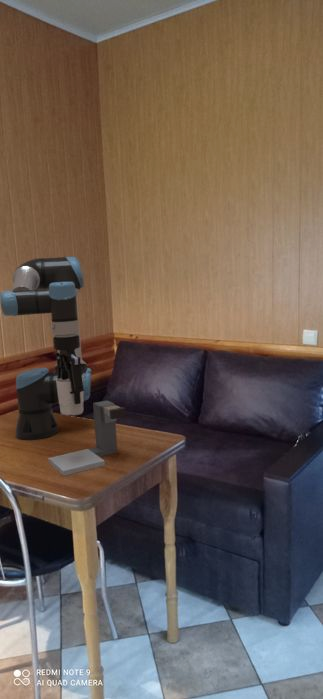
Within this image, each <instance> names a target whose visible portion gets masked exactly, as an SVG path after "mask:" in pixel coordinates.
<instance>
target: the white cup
mask: <svg viewBox="0 0 323 699" xmlns="http://www.w3.org/2000/svg"><path fill="white" fill-rule="evenodd" d="M82 381H83V378H82ZM56 385H57V393H58V399H59V403H58V405H59V410H60V414H62V415H64V416H73V415H72V403H71V394H70V392H71V391H72V389H71V384H70V380H69V378H68V379H67V380H62V378H59V379H57V380H56ZM80 393H81V405H82V413H84V398H83V396H84V394H83V391H81V392H80Z"/></svg>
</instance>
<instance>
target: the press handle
mask: <svg viewBox="0 0 323 699" xmlns="http://www.w3.org/2000/svg"><path fill="white" fill-rule="evenodd" d="M101 408H102V421H103V422H104V423H109V422H114V421H115V422H117V421H118V419H121V418H126V416H127V414H126V407H123V406H121V407H120V406H119V405H117V404H115V403H114V404H110V405H105V406H101Z"/></svg>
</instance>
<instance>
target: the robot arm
mask: <svg viewBox="0 0 323 699" xmlns="http://www.w3.org/2000/svg"><path fill="white" fill-rule="evenodd" d="M79 260H80V259H78V258H77V257H75V256H61V257H60V256H59V257H57V256H56V257H43V258H40V257H39V258H31V259H30V260H28V261H24V262H23V263H21V264H20V265H19V266H18V267H17V268H16V269H15V270H14V271H13V274H12V277H11V278H12V287H11V289H9V290H5V291H4V290H3V291H1V294H0V308H1V312H2V315H4V316H7V317H8V316H13V317H17V316H29V315H42V314H50V315H51V316H50V317H51V325H50V328H51V329H50V330H52V335H53V338H52V341H53V349H54V351H55V350H56V351H57V352H56V353H55V356H56V357H55V358H56V359H55V360H56V364H55V365H54V371H50V370H49V369H48V367H37V368H31V369H28V370H25V371H23V372H20V373H18V374H17V376H16V378H15V386H16V387H15V390H16V397H17V407H18V408H17V409H18V418H17V423H16V427H15V437H16V438H17V439H20V440H28V441H29V440H39V439H40V440H42V439H46V438H50V437H52V436H55V435H56V434H58V433H59V423H58V422H57V419H56V417H55V415H54V412H53V410H52V408H53V407H52V405H53V404H54V405H55V404H59V399H58V393H57V385H56V380H57V379H59V378H62V380H67V379H68V378H69V380H70V384H71V389H72V391H71V392H70V394H71V403H72V415H71V416H79V415H82V414H83V412H82V405H81V393H80V392H81V391H83V394H84V396H83V398H84V401H87V400H89V398H90V396H91V381H92V379H91V378H92V376H91V375H92V369H91V368H90V367H88V364H87V363H86V362H85V361H84V360H83V358H82V345H81V344H82V343H81V330H80V320H79V318H80V317H79V306H78V296H79V295H80V293H81V289H83V288H84V286H85V285H84V284H85V283H84V277H83V272H82V271H83V270H82V267H81V263H80V261H79ZM82 378H83V381H82ZM84 401H83V402H84Z"/></svg>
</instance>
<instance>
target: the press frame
mask: <svg viewBox="0 0 323 699" xmlns="http://www.w3.org/2000/svg"><path fill="white" fill-rule="evenodd" d="M110 404H114V405H115V403H114V402H112V401H110V400H104V401H103V400H102V401H97V402H93V403H92V408H93V419H94V420H93V421H94V432H95V433H94V434H95V435H94V436H95V446H94V447H91V448H85V449H81V450H77V451H73V452H69V453H64V454H61V455H56V456H51V457H48V464H50V465H51V466H52V467H53V468H54V469H55V470H56V471H57V472H58V473H60V475H61V476H63V477H65V476H69V475H74V474H77V473H81V472H85V471H88V470H93V469H96V468H101V467H105V466H106V460H104V459H103V458H101V457H103V456H107V455H111V454H116V453H118V442H117V440H118V438H117V428H116V426H117V425H116V421H114V422H109V423H104V422H103V421H102V408H101V406H105V405H110Z"/></svg>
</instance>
